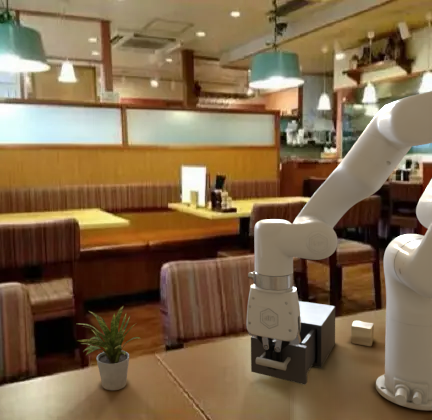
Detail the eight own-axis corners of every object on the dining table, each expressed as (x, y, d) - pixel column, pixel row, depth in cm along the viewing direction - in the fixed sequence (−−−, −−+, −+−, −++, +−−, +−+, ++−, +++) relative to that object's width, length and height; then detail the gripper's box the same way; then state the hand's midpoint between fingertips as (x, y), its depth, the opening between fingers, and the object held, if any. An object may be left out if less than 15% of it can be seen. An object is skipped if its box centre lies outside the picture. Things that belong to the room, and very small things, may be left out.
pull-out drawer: (299, 395, 86) (299, 357, 85) (242, 381, 93) (242, 345, 92) (321, 358, 101) (321, 325, 101) (271, 348, 108) (271, 317, 107)
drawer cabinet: (321, 368, 99) (321, 325, 98) (265, 355, 106) (265, 316, 105) (335, 343, 111) (335, 306, 110) (284, 334, 118) (284, 298, 117)
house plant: (92, 365, 105) (88, 298, 103) (149, 367, 103) (146, 298, 101) (72, 397, 91) (67, 320, 89) (138, 400, 89) (134, 321, 87)
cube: (370, 346, 109) (371, 329, 108) (351, 343, 111) (351, 325, 111) (373, 340, 113) (373, 323, 112) (354, 336, 115) (354, 320, 115)
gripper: (231, 280, 91) (233, 365, 93) (306, 290, 82) (305, 384, 84) (245, 272, 97) (246, 352, 99) (316, 280, 89) (316, 368, 91)
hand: (274, 366), depth 92 cm, fingers closed
